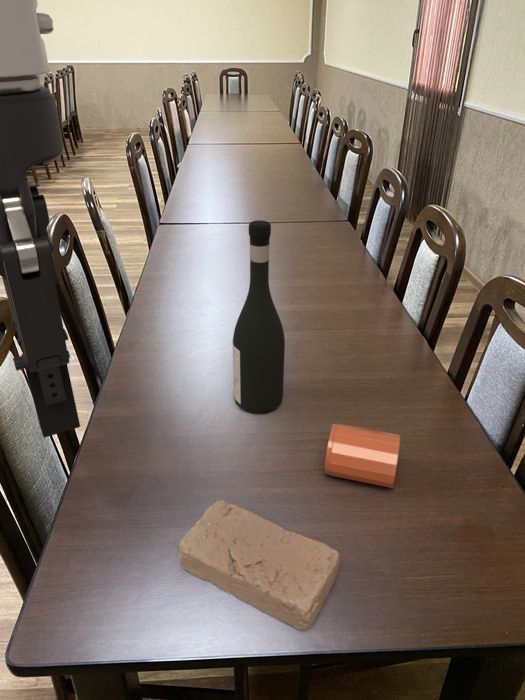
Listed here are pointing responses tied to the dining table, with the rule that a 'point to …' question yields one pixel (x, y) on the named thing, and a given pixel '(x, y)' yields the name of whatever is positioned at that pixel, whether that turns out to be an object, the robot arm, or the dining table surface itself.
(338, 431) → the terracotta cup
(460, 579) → the dining table surface
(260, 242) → the wine bottle
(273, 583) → the brick
